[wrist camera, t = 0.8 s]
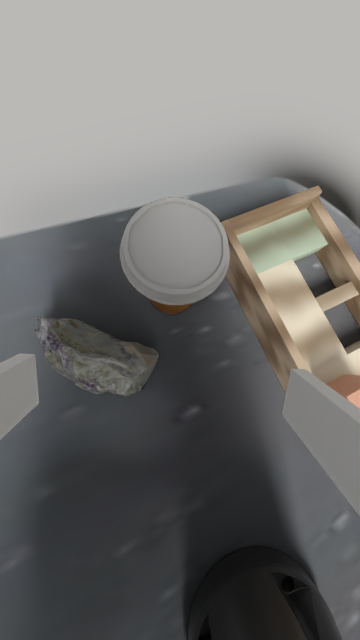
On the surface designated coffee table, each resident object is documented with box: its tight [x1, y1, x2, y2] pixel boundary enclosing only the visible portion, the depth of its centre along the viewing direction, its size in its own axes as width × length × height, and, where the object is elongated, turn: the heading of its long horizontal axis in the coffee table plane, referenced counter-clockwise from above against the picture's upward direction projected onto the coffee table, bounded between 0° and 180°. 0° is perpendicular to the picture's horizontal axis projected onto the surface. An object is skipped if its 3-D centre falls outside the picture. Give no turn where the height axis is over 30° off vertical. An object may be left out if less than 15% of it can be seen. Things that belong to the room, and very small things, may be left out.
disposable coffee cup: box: [120, 198, 230, 314], centre depth 22 cm, size 10×10×12 cm
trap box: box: [221, 186, 360, 393], centre depth 26 cm, size 30×16×6 cm, turn 25°
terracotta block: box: [326, 374, 360, 408], centre depth 23 cm, size 4×4×4 cm
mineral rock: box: [35, 317, 159, 396], centre depth 21 cm, size 13×11×10 cm
